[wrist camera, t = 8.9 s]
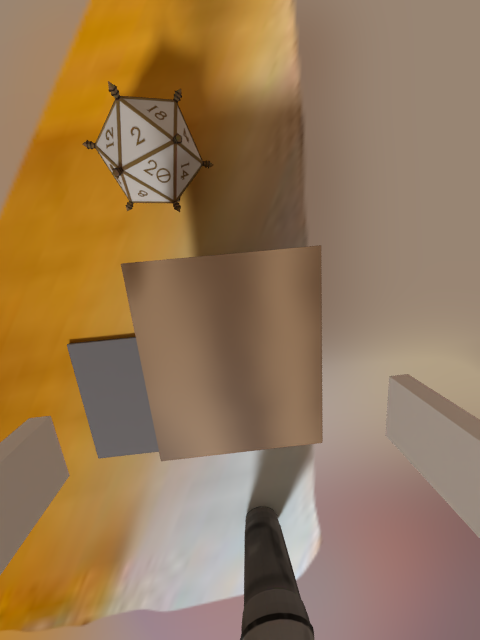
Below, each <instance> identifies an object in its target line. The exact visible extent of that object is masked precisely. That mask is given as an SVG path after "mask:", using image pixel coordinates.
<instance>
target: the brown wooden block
mask: <svg viewBox="0 0 480 640" xmlns="http://www.w3.org/2000/svg"><path fill="white" fill-rule="evenodd" d="M121 267H122V272H123V277H124V282H125V287H126V291H127V296H128V301H129V306H130V311H131V316H132V321H133V326H134V331H135V336H136V341H137V346H138V350H139V355H140V360H141V365H142V370H143V375H144V380H145V385H146V390H147V395H148V400H149V404H150V409H151V414H152V419H153V424H154V429H155V434H156V439H157V444H158V449H159V454H160V458H161V461H167V460H176V459H185V458H193V457H202V456H211V455H220V454H228V453H237V452H246V451H255V450H263V449H272V448H281V447H290V446H298V445H307V444H316V443H322V305H321V304H322V299H321V298H322V297H321V296H322V294H321V246H310V247H299V248H288V249H277V250H266V251H255V252H244V253H233V254H222V255H211V256H200V257H189V258H178V259H167V260H156V261H146V262H135V263H124V264H121Z"/></svg>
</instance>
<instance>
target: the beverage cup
mask: <svg viewBox="0 0 480 640" xmlns="http://www.w3.org/2000/svg"><path fill="white" fill-rule="evenodd" d="M240 640H314V631H313V627H312V625H311V624H310V621H309V617H308V614H307V612H306V609H305V606H304V604H303V601H302V600H301V597H300V594H299V590H298V587H297V583H296V580H295V576H294V572H293V569H292V565H291V562H290V558H289V555H288V551H287V548H286V544H285V541H284V537H283V534H282V530H281V526H280V524H279V521H278V519H277V514H276V513H275V511H274V510H272V509H271V508H268V507H257V508H255V509H252V510H251V511H250V512H249V513H248V514H247V516H246V525H245V566H244V611H243V618H242V634H241V638H240Z"/></svg>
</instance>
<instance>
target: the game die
mask: <svg viewBox="0 0 480 640" xmlns="http://www.w3.org/2000/svg"><path fill="white" fill-rule="evenodd" d="M108 84H109V92H111V95H112V96H114V97H115V101H114V103H113V105H112V108H111V110H110V112H109V114H108V117H107V119H106V121H105V123H104V125H103V128H102V130H101V132H100V134H99V136H98V139H97V141H96V143H93V142H91V141H88V140H87V141H86V142H84V143H83V145H84V146H86V147H87V149H90V148H91V149H93V148H96V150H97V151H98V153H99V154H100V156H101V158H102V159H103V161H104V162H105V164H106V165H107V167H108V168H109V170H110V171H111V173H112V175H113V176H114V178H115V179H116V181H117V182H118V184H119V185H120V187H121V188H122V190H123V192H124V193H125V195H126V196H127V198H128V199H129V202H128V203H127V205H126V208H127V211H128V210H130V209H132V207H133V203H173V207H174V209H175V210H177V211H179V212H180V208H181V206H180V205H179V203H178V202H179V201H180V196H181V195H182V194H183V192H184V191H185V189H186V188H187V187H188V185H189V184H190V182H191V181H192V180H193V178H194V177H195V176H196V174H197V173H198V171H199V170H200V169H201V167H202V166H205V168H206V167H208V168H209V167H211V166H213V164H212V163H210V161H202V158H201V156H200V154H199V152H198V149H197V147H196V145H195V142H194V140H193V138H192V136H191V133H190V131H189V129H188V126H187V124H186V122H185V120H184V117H183V115H182V113H181V110H180V108H179V106H178V104H177V103H178V101H180V98H182V96H181V89H179V90H177V91H175V95H174V99H173V100H169V99H155V98H142V97H128V96H120V95H119V91H118V90H117V87H116V86H115V85H113V84H112V83H110V82H109V81H108ZM177 201H178V202H177Z"/></svg>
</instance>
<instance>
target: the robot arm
mask: <svg viewBox="0 0 480 640" xmlns="http://www.w3.org/2000/svg"><path fill="white" fill-rule="evenodd" d="M386 436H387V437H388V439H389V440H390V441H391V442H392V443H393V444H394V445H395V446H396V447H397V448H398V449H399V451H400V452H401V453H402V454H403V455H404V456H405V457H406V458H407V459H408V460H409V461H410V463H411V464H412V465H413V466H414V467H415V468H416V469H417V470H418V471H419V472H420V474H421V475H422V476H423V477H424V478H425V479H426V480H427V481H428V482H429V483H430V484H431V485H432V487H433V488H434V489H435V490H436V491H437V492H438V493H439V494H440V495H441V496H442V497H443V499H444V500H445V501H446V502H447V503H448V504H449V505H450V506H451V507H452V508H453V510H454V511H455V512H456V513H457V514H458V515H459V516H460V517H461V518H462V519H463V521H464V522H465V523H467V525H468V526H469V527H470V528H471V529H472V530H473V531H474V532H475V534H476V535H477V536H478V537H479V538H480V420H479V419H478V418H476V417H475V416H473V415H471V414H470V413H468V412H467V411H465V410H464V409H462V408H460V407H459V406H457V405H456V404H454V403H453V402H451V401H449V400H448V399H446V398H445V397H443V396H441V395H440V394H438V393H437V392H435V391H434V390H432V389H430V388H429V387H427V386H426V385H424V384H422V383H421V382H419V381H418V380H416V379H415V378H413V377H412V376H410V375H408V374H405V375H397V376H390V377H389V390H388V407H387V421H386ZM68 477H69V473H68V469H67V466H66V463H65V460H64V457H63V454H62V451H61V447H60V444H59V441H58V438H57V435H56V432H55V428H54V425H53V422H52V419H51V416H45V417H37V418H29V419H28V420H27V421H26V422H25V423H23V424H22V425H21V426H20V427H19V428H17V429H16V430H15V431H14V432H13V433H11V434H10V435H9V436H8V437H7V438H6V439H4V440H3V441H2V442H1V443H0V575H1V573H2V572H3V570H4V569H5V568H6V566H7V565H8V563H9V562H10V560H11V559H12V557H13V556H14V555H15V553H16V552H17V550H18V549H19V547H20V546H21V545H22V543H23V542H24V540H25V539H26V537H27V536H28V534H29V533H30V532H31V530H32V529H33V527H34V526H35V524H36V523H37V521H38V520H39V519H40V517H41V516H42V514H43V513H44V511H45V510H46V509H47V507H48V506H49V504H50V503H51V501H52V500H53V498H54V497H55V496H56V494H57V493H58V491H59V490H60V488H61V487H62V486H63V484H64V483H65V481H66V480H67V478H68Z"/></svg>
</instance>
